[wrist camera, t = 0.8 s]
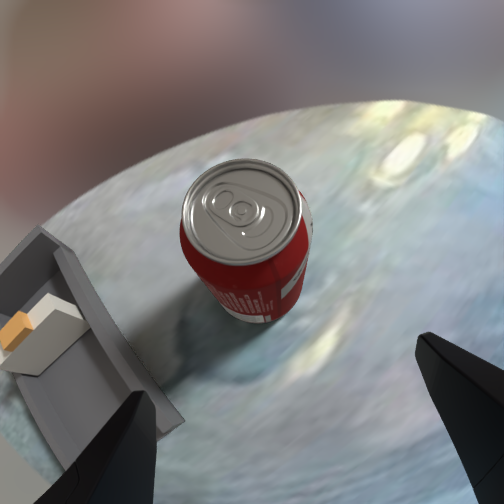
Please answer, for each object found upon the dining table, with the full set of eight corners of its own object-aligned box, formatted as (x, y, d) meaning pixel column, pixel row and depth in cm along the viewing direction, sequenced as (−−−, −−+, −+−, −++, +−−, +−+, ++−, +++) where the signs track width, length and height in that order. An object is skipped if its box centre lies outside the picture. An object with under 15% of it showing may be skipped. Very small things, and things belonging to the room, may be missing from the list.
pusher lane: (185, 420, 22) (157, 431, 16) (96, 482, 20) (57, 498, 14) (73, 251, 28) (38, 224, 23) (8, 317, 26) (-31, 301, 21)
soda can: (267, 342, 24) (254, 310, 13) (199, 291, 26) (140, 224, 15) (318, 273, 25) (343, 190, 14) (250, 228, 27) (230, 130, 16)
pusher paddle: (94, 324, 24) (46, 305, 18) (38, 375, 23) (-13, 367, 17) (86, 310, 25) (39, 288, 19) (32, 362, 24) (-18, 351, 17)
